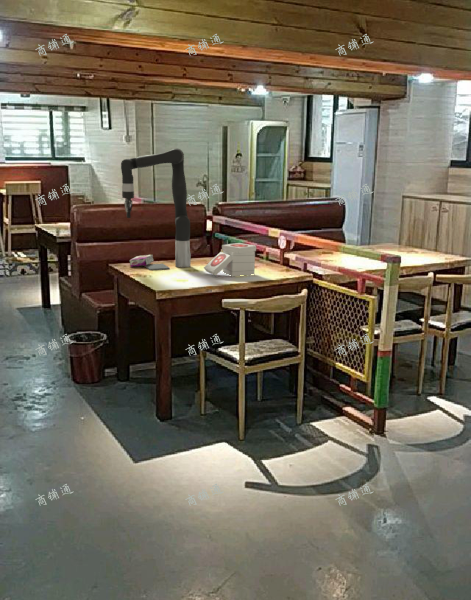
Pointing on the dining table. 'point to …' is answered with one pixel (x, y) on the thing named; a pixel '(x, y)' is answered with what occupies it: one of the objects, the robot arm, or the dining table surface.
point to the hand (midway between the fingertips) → (128, 217)
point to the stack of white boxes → (233, 260)
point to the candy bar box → (141, 260)
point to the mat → (157, 267)
